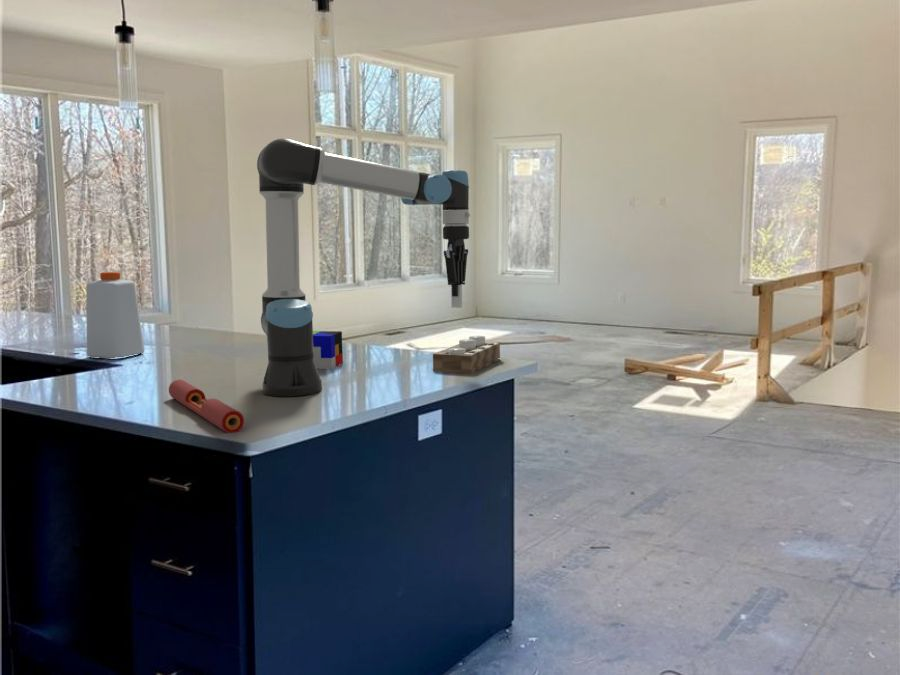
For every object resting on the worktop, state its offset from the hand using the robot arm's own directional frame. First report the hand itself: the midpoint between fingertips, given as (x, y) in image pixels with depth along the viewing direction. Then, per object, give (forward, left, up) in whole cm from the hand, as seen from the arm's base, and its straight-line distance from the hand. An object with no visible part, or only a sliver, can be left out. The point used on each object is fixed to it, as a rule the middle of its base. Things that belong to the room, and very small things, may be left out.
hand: (456, 307), depth 238 cm
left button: (0, 0, -17) cm, 17 cm away
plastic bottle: (-14, +118, -19) cm, 120 cm away
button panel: (+8, 0, -18) cm, 20 cm away
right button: (+16, 0, -15) cm, 22 cm away
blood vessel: (-70, +34, -19) cm, 81 cm away
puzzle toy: (-7, +42, -19) cm, 47 cm away
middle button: (+8, 0, -15) cm, 17 cm away
